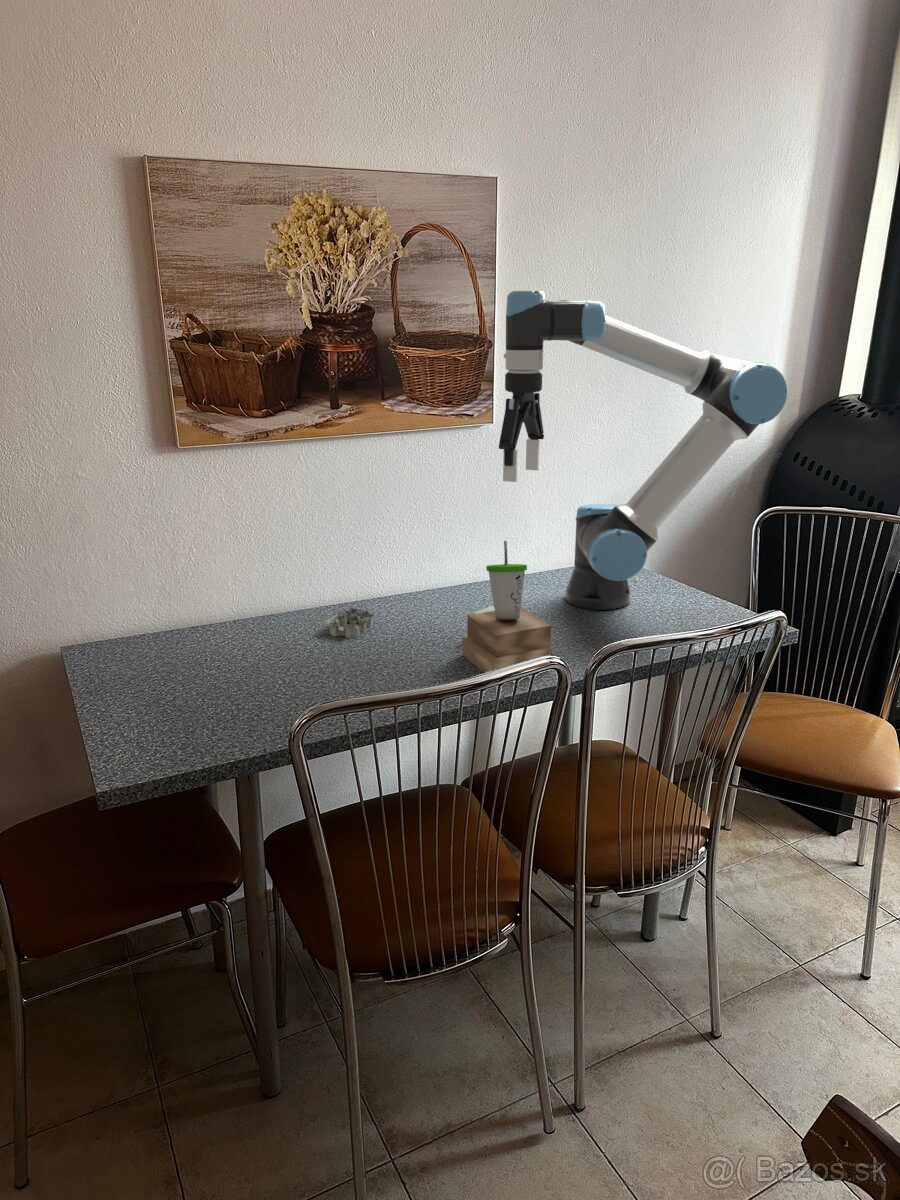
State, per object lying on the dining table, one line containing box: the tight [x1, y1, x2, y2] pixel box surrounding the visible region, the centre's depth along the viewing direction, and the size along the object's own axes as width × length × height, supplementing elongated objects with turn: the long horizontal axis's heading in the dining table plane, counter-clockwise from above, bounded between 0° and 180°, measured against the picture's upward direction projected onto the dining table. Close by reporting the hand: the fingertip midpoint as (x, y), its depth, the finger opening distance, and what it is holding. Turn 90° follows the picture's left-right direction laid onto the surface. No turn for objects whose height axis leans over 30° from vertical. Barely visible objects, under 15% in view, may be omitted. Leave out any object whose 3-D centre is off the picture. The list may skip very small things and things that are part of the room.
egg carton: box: [326, 605, 375, 639], centre depth 187 cm, size 11×8×4 cm
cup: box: [486, 540, 528, 620], centre depth 167 cm, size 8×8×15 cm
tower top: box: [466, 606, 552, 658], centre depth 169 cm, size 12×12×4 cm
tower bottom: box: [462, 635, 553, 673], centre depth 170 cm, size 13×13×4 cm
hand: (521, 475), depth 181 cm, fingers open, 13 cm apart
